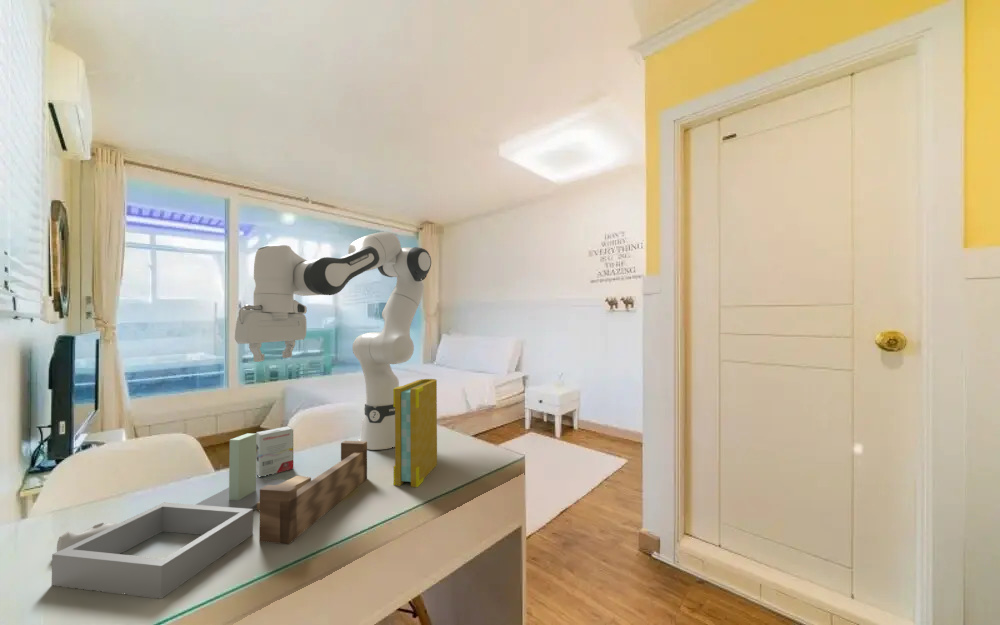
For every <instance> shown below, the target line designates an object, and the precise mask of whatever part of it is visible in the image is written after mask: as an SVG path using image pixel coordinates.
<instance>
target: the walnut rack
mask: <svg viewBox="0 0 1000 625" xmlns="http://www.w3.org/2000/svg"><path fill="white" fill-rule="evenodd" d="M366 480H368V449H367V442H366V441H357V440H344V441H342V442H340V461H339V462H338V463H336V464H335V465H332V466H331V467H330V468H329V469H327V470H326V471H324V472H323V473H321V474H319V475H317V476H316V477H315V478H313V479H311V481H310V482H309V483H307V484H306V485H304V486H302V487H301V488H299V489H298V490H297V487H295V486H279V485H267V486H265V487H263V488H261V489H260V511H259V532H258V533H259V536H258V540H259V543H260V542H261V543H273V544H282V545H290V544H292V542H294V541H295V540H296V539H297V538H298V537H300V536H301V535H302V534H303V533H304V532H306V531H307V530H308V529H309V528H310V527H312V526H313V525H314V524H315V523H316V522H317V521H318V520H320V519H321V518H322V517H323V516H324V515H326V514H327V513H328V512H330V510H331V509H333V508H334V507H335V506H336V505H338V504H339V503H340V502H341V501H342V500H344V499H345V498H346V497H347V496H348V495H349V494H351V493H352V492H353V491H354V490H356V488H358V487H359V486H360V485H361V484H362V483H364V482H365V481H366Z"/></svg>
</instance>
